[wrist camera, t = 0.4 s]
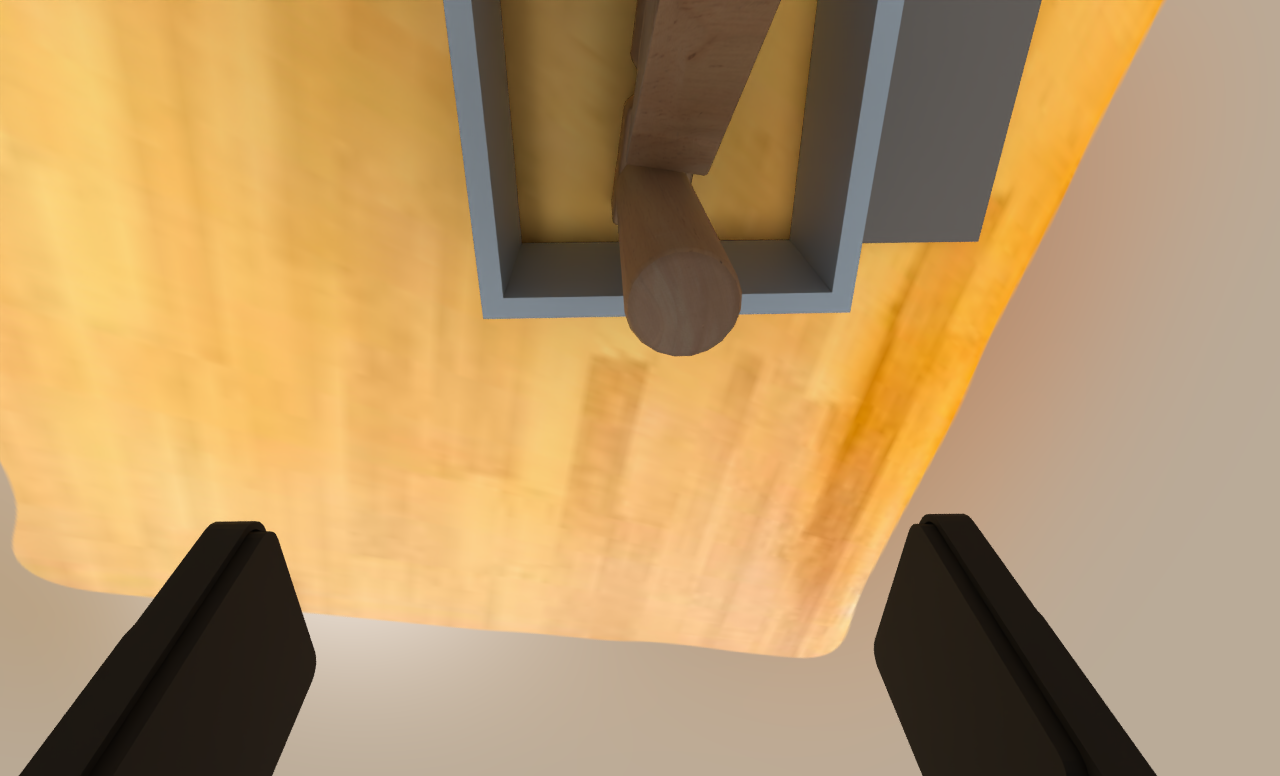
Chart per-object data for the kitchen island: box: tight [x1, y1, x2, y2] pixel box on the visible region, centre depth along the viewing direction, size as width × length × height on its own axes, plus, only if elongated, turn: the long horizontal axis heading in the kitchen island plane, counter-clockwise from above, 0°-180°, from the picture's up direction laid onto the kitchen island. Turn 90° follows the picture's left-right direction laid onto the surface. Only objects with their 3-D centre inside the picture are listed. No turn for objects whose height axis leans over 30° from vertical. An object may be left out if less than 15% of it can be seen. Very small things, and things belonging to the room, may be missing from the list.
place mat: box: [862, 0, 1042, 243], centre depth 34 cm, size 14×8×1 cm, turn 0°
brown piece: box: [612, 0, 781, 356], centre depth 26 cm, size 4×11×18 cm, turn 172°
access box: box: [443, 0, 904, 319], centre depth 30 cm, size 16×17×8 cm
